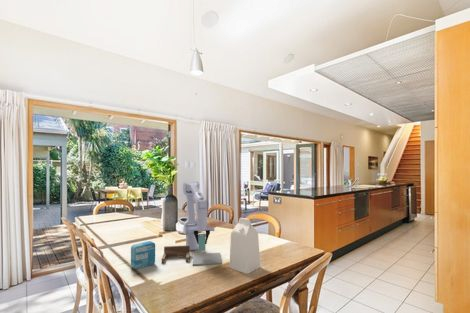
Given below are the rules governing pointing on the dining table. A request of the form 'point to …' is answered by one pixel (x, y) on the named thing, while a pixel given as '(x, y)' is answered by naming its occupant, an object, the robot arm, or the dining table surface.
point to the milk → (244, 247)
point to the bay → (176, 252)
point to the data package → (142, 254)
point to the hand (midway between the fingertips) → (201, 243)
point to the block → (201, 242)
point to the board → (206, 259)
